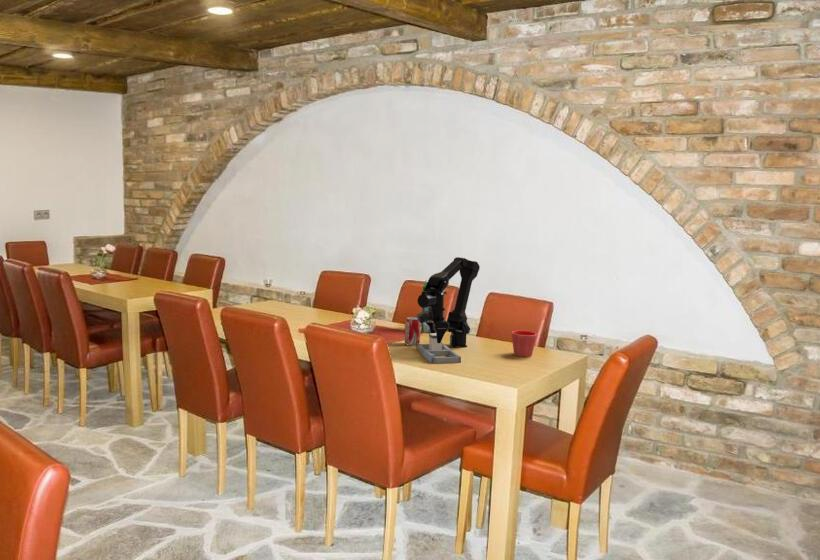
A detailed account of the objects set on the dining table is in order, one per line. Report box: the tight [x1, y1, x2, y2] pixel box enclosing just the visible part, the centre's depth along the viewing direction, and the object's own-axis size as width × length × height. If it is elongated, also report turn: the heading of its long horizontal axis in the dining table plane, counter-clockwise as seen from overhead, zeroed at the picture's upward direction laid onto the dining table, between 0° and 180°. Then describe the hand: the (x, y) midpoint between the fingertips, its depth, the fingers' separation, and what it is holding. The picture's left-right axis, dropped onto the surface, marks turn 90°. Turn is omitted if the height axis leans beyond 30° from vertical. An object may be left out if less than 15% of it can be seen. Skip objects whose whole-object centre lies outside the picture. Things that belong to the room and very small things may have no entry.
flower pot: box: [511, 330, 537, 358], centre depth 301 cm, size 11×11×10 cm
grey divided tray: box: [416, 343, 462, 364], centre depth 296 cm, size 12×26×3 cm, turn 14°
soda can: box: [404, 316, 422, 346], centre depth 316 cm, size 7×7×12 cm
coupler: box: [428, 333, 443, 350], centre depth 301 cm, size 5×5×8 cm
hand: (435, 340), depth 301 cm, fingers open, 9 cm apart
